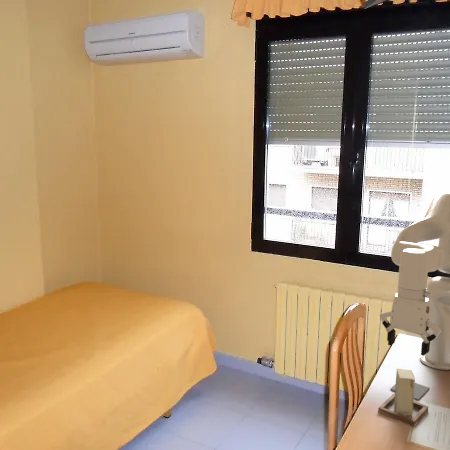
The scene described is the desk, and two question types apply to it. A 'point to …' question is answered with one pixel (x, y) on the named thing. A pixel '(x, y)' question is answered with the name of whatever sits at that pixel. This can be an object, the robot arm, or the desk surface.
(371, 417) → the desk surface
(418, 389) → the rubber mat
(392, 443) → the desk surface
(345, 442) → the desk surface
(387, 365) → the desk surface
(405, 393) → the skincare box
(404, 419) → the square wooden frame
